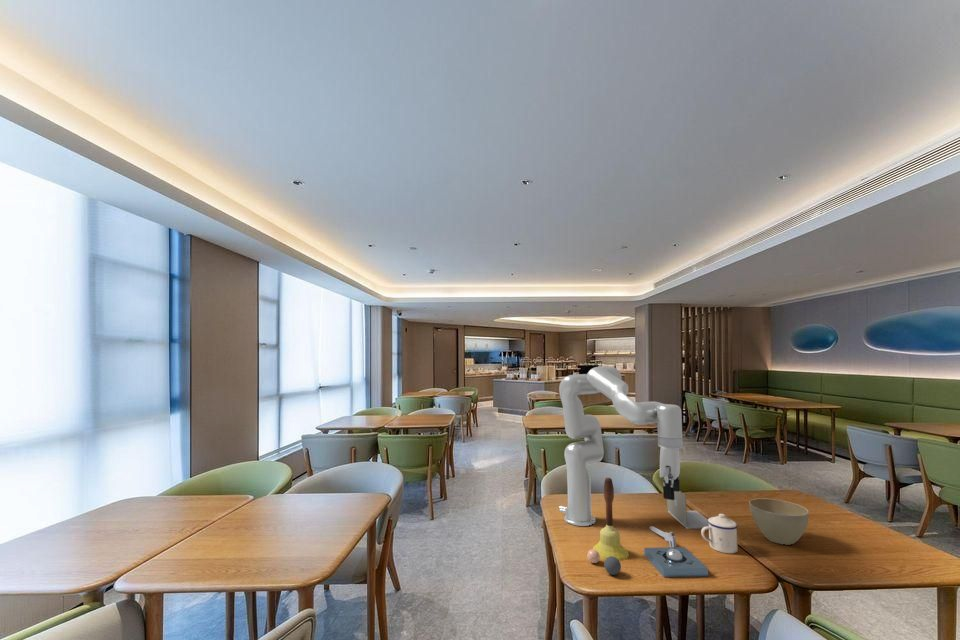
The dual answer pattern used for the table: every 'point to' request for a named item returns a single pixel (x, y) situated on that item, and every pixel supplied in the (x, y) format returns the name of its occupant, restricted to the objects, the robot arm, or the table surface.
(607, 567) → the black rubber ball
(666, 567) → the housing plate
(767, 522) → the grey beige bowl
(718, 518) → the teacup with lid
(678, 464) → the robot arm
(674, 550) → the steel ball
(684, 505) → the laptop
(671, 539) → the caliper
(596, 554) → the pink ball
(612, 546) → the handbell
